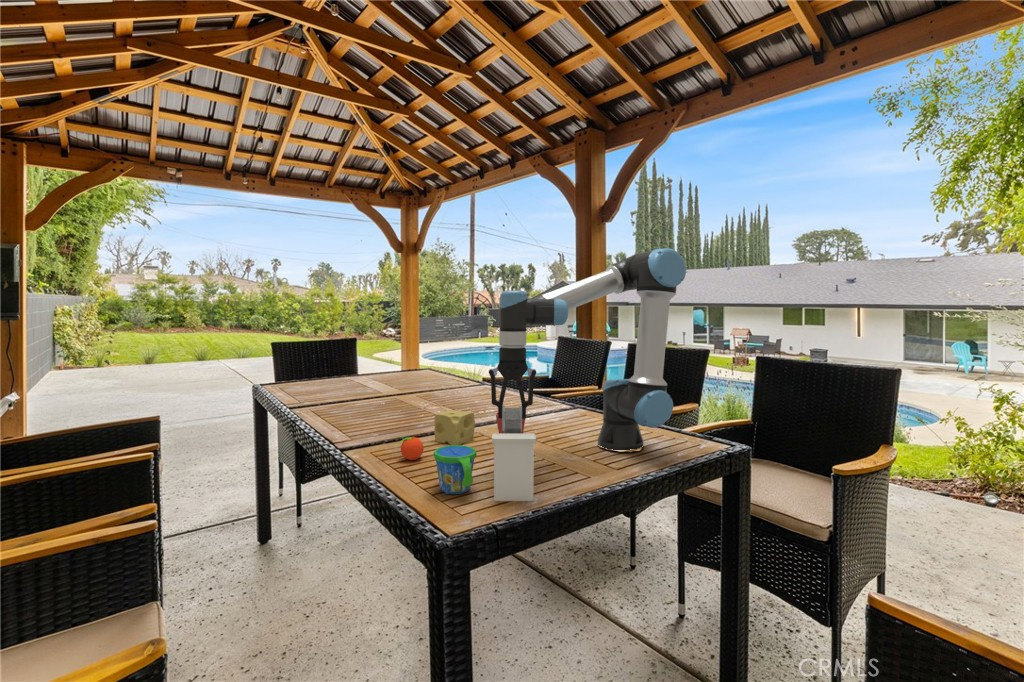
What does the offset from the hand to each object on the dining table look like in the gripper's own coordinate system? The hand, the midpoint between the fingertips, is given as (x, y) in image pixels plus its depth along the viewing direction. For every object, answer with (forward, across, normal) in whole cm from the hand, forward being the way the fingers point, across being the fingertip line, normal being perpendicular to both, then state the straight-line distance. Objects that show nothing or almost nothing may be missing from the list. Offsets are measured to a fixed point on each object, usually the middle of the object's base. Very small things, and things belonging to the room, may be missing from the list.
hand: (511, 429), depth 131 cm
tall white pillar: (+12, 0, +14) cm, 19 cm away
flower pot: (+12, 0, -34) cm, 36 cm away
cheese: (+13, +20, -34) cm, 41 cm away
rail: (0, 0, +5) cm, 5 cm away
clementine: (+13, +31, -12) cm, 35 cm away
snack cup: (+13, +14, +13) cm, 23 cm away
